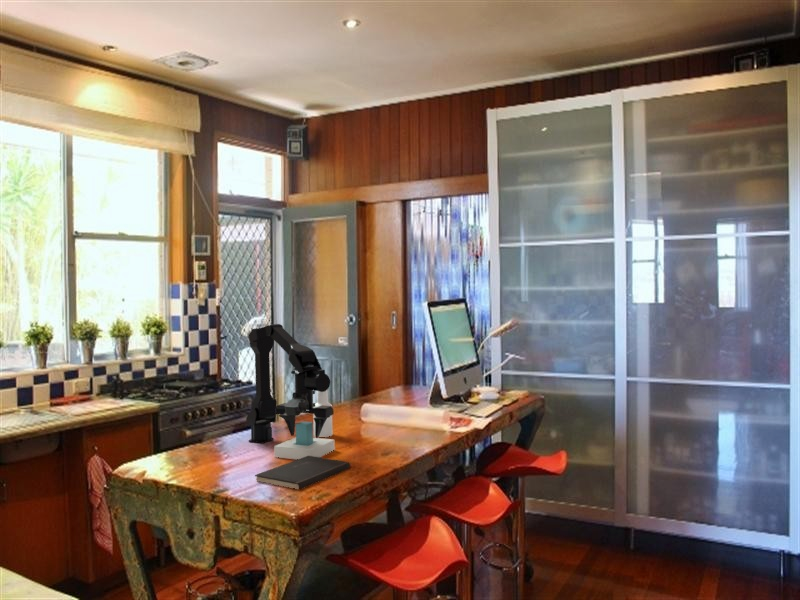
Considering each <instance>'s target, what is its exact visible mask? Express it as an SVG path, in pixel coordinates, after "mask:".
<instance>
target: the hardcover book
mask: <svg viewBox="0 0 800 600" xmlns="http://www.w3.org/2000/svg"><path fill="white" fill-rule="evenodd" d="M349 468H350V469H351V463H350V462H348V461H345V460H338V459H337V460H336V459H331V458H325V457H320V458H319V457H313V456H306V457H303V458H301V459H298V460H297V459H294V460H293V461H290V462H287V463H284V464H281V465H279V466H276V467H273V468H270V469H268V470H266V471H265V470H264V471H262V472H259V473H257V474H254V477H256V482H258V481H261V482H260V483H263V482H266V483H265V484H268V483H271V484H270V485H273V484H274V486H278V485H279V487H283V486H284V487H283V488H288V487H289V488H290V489H293V488H295V489H294V490H298V489H300V490H303V489H305V488H307V487H309V485H310V486H312V485H314V484H317V483H319V482H322V481H324V480H326V479H329V478H331V477H334V476H335V474H336V475H337V474H340V473H343V472H344V471H348V470H349ZM342 471H343V472H342ZM330 476H331V477H330ZM328 477H329V478H328ZM325 478H326V479H325ZM323 479H324V480H323ZM318 481H319V482H318ZM316 482H317V483H316ZM311 484H312V485H311ZM306 486H307V487H306ZM304 487H305V488H304ZM302 488H303V489H302Z"/></svg>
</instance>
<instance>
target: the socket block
mask: <svg viewBox="0 0 800 600" xmlns="http://www.w3.org/2000/svg"><path fill="white" fill-rule="evenodd" d="M335 445H336V444H335V439H333V438H332V439H330V438H319V437H318V438H316V437H313V444H311V445H309V446H305V445H296V436H295V437H293V438H291V439H288V440H286V441H283V442H281V443H279V444H275V445H274V446H273V448H274V449H273V450H274V451H273V452H274V453H273V454H274V456H273V457H274V458H278V457H279V459H287V460H289V459H290V460H297V459H301V458H303V457H306V456H313V457H319V458H323V457H324V456H326V455H328V454H330V453H332V452H334V451H336V448H335ZM333 450H334V451H333ZM331 451H332V452H331ZM329 452H330V453H329ZM327 453H328V454H327ZM325 454H326V455H325Z"/></svg>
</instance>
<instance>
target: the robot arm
mask: <svg viewBox="0 0 800 600" xmlns="http://www.w3.org/2000/svg"><path fill="white" fill-rule="evenodd" d="M248 341H249V346H250V349H251V350H252V351H253V353H254V363H255V365H254V367H255V371H254V372H255V396H254V398H253V400H252V402H251V410H249V413H248V414H247V416H246V417H245V420H246V424H247V425H250V436H251V437H250V438H251V439H249V440H248V442H250V443H261V444H265V443H267V442H269V441H272V440H274V439H275V438H274V437H273V427H272V423H275V421H276V416H277V415H278V417H280V418H282V419H283V420H284V421H285V423H286V425H287V428H288V431H289V434H290V436H291V437H294V436H295V433H296V417H298V416H300V415H301V414H312V415H313V414H314V415H315V416H316V417H315V418H314V420H315V435H316V437H315V438H319V435H320V432H321V430H322V427H323V425H324V423H325V421H326V419H327V418H329V417H330V416H331V415H332V416H333V415H334V413H335V412H334V411H335V410H334V408H333V405H332V406H323V405H322V406H319V407H317V408H313V407H315V404H316V403H315V402H314V395H315V394H316V392H317V391H320V392H324V391H326V390H327V391H328V390H329V387H330V386H331V379H330V376H329V375H328V374H326V370H325V369H322V367H321V366H322V365H321V363H320V361H319V360H318V358H317V354H316V353H315V351H314V350H313V349H311V348H310V347H309V346H307V345H303V344H301V343H299V342H298V341H297V340H296V339H295V338H294V337H293V336H292V335H291V334H290V333H289V332H288V331H286V329H284V326H283V325H282V324H280V323H274V324H272V323H270V324H268V325H266V326H263V327H258V328H252V329H251V331H250V332H249V333H248ZM275 342H276V344H277V345H278V346H279V347H280V348H281V349H282V350H283V351H284V352H285V353H286V354H287V355H288V362H290V364H291V365H292V366H293V369H292V370H291V371H290V373H291V374H292V375H294V392H292V397H291V398H290V399H289V400H288V401H287V402H284V403H280V404H277V399H276V398H274V397H273V396H272V395H271V368H270V367H271V364H270V363H271V362H270V360H271V359H270V353H271V351H272V349H273V347H274V345H275ZM314 420H313V421H314Z"/></svg>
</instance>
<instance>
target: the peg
mask: <svg viewBox="0 0 800 600" xmlns="http://www.w3.org/2000/svg"><path fill="white" fill-rule="evenodd" d="M295 437H296V445H305V446H309V445H311V444H313V438H314V421H313V422H312V421H305V420H304V421H303V420H302V421H299V422H295Z"/></svg>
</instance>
